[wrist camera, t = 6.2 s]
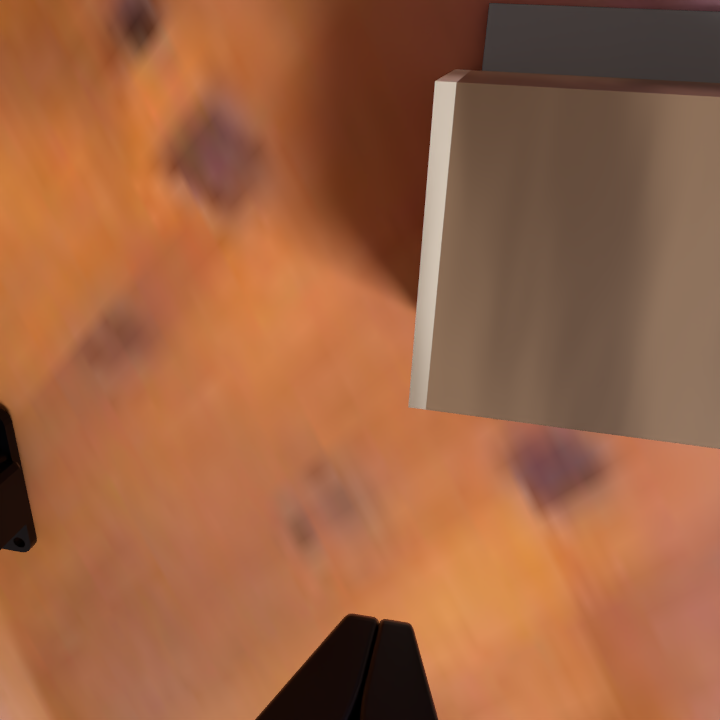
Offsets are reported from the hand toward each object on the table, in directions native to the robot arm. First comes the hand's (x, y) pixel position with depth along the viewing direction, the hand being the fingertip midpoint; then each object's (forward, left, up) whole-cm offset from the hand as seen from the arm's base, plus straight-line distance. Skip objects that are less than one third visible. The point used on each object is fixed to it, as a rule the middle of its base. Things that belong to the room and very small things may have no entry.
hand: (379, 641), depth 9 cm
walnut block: (-1, +3, -10) cm, 10 cm away
